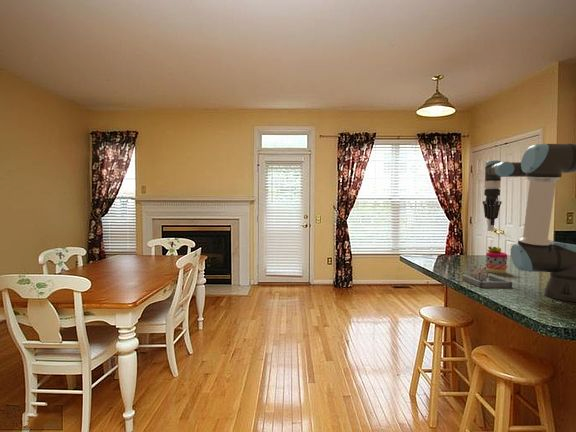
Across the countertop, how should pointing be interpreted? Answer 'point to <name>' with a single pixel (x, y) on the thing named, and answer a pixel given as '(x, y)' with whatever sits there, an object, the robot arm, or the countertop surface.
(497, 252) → the cake
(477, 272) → the translucent lumpy piece
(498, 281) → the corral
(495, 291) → the countertop surface
